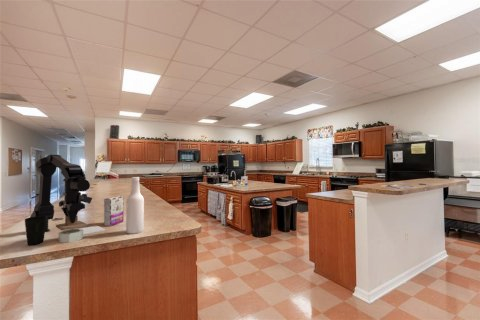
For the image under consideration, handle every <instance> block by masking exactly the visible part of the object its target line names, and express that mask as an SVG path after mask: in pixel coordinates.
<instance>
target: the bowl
mask: <svg viewBox="0 0 480 320" xmlns="http://www.w3.org/2000/svg"><path fill="white" fill-rule="evenodd" d="M82 239H84V235H83V230H82V229H79V228H73V229H67V230H61V231H60V232H58V239H57V240H58V242H59V243H60V244H64V243H65V244H66V243H73V242H79V241H80V240H82Z"/></svg>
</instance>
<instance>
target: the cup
mask: <svg viewBox="0 0 480 320" xmlns="http://www.w3.org/2000/svg"><path fill="white" fill-rule="evenodd" d="M46 219H47V217H46V216H37V217H30V216H29V217H26V218H24V227H25V228H24V229H25V235H26V236H25V237H26V245H27V246H29V247H34V246H38V245H42V244H43V243H44V241H45V233H46V232H45V227H46Z"/></svg>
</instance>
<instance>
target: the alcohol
mask: <svg viewBox="0 0 480 320" xmlns="http://www.w3.org/2000/svg"><path fill="white" fill-rule="evenodd" d="M130 187H131V188H130V193H129V195H128V196H127V198H126V203H125V204H126V210H125V211H126V214H125V215H126V219H125V232H126V234H129V235H136V234H140V233H142V232H143V231H144V229H145V198H144V196H143V195H142V194H141V186H140V176H133V177H131V185H130Z"/></svg>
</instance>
